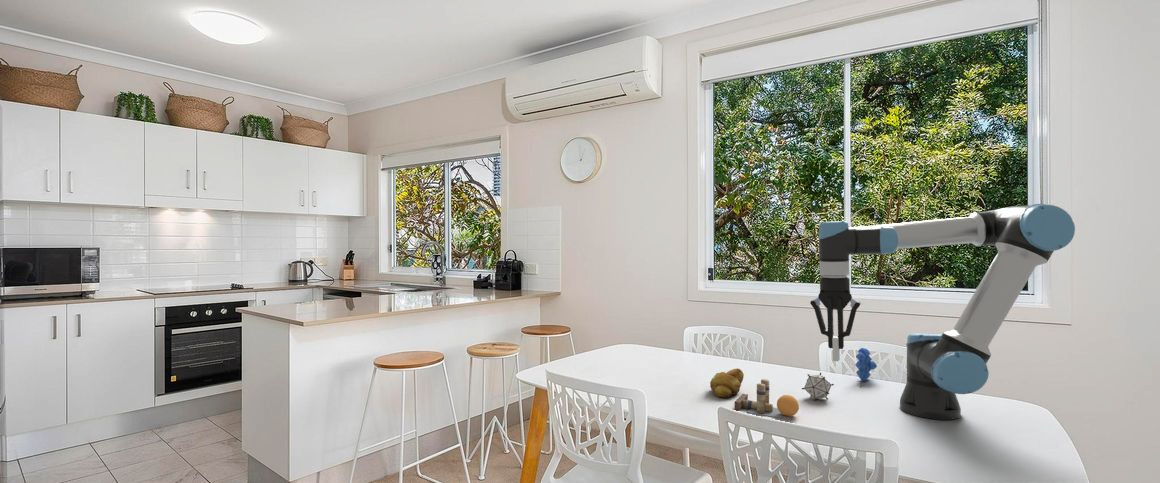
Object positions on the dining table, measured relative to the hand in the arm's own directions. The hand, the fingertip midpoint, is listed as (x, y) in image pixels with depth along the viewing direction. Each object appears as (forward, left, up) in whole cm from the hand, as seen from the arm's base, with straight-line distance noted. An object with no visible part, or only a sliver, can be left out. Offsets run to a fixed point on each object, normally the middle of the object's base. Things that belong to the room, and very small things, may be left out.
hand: (836, 360), depth 152 cm
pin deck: (+17, +1, -17) cm, 25 cm away
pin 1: (+20, +4, -17) cm, 27 cm away
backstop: (+26, 0, -17) cm, 32 cm away
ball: (+13, +2, -14) cm, 19 cm away
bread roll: (+35, -9, -18) cm, 40 cm away
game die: (+7, -19, -18) cm, 27 cm away
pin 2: (+20, -1, -17) cm, 26 cm away
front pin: (+17, +2, -16) cm, 23 cm away
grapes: (-4, -48, -18) cm, 51 cm away
